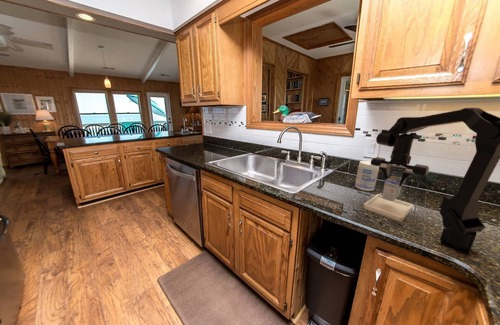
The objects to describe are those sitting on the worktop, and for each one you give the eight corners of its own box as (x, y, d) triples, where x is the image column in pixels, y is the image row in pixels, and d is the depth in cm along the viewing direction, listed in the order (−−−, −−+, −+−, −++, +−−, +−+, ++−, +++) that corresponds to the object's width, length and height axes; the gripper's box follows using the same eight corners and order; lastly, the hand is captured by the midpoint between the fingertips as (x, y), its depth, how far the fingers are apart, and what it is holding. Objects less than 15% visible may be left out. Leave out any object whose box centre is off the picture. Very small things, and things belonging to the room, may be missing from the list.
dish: (412, 208, 86) (413, 204, 85) (401, 222, 75) (402, 218, 74) (377, 197, 96) (378, 193, 96) (362, 208, 85) (363, 204, 85)
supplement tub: (360, 191, 103) (365, 165, 99) (351, 184, 113) (355, 160, 109) (378, 191, 103) (384, 165, 99) (368, 184, 112) (372, 160, 109)
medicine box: (387, 192, 88) (391, 175, 86) (399, 196, 85) (403, 177, 82) (381, 198, 83) (385, 179, 81) (393, 202, 80) (398, 182, 77)
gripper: (436, 150, 76) (425, 187, 81) (382, 143, 90) (375, 175, 94) (430, 154, 70) (419, 193, 74) (373, 146, 83) (366, 180, 87)
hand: (393, 184), depth 82 cm, fingers closed on medicine box, 4 cm apart
